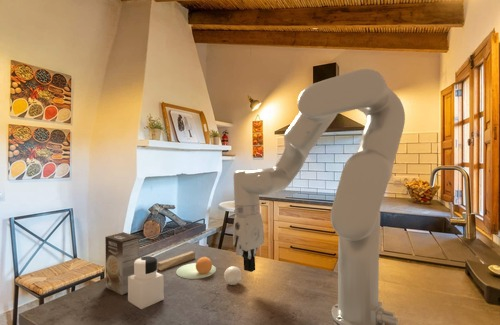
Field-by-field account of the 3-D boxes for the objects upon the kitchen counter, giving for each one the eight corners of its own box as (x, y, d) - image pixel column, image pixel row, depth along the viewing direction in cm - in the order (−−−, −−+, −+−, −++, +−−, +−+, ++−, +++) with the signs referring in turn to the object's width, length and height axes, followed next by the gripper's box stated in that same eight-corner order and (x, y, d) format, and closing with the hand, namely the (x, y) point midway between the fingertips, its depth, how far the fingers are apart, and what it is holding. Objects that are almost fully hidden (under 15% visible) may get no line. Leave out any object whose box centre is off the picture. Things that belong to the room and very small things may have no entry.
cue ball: (234, 260, 94) (230, 274, 96) (222, 265, 90) (218, 280, 91) (247, 270, 91) (242, 284, 92) (235, 276, 87) (230, 291, 88)
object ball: (206, 252, 103) (203, 266, 104) (194, 256, 99) (191, 270, 100) (216, 260, 100) (213, 274, 101) (204, 264, 95) (201, 279, 96)
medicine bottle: (150, 292, 86) (150, 252, 86) (164, 299, 81) (163, 257, 81) (127, 301, 80) (127, 259, 80) (141, 310, 76) (140, 265, 76)
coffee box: (104, 287, 89) (103, 236, 89) (123, 280, 94) (123, 231, 94) (121, 295, 84) (121, 241, 84) (140, 287, 89) (140, 236, 89)
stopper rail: (195, 258, 115) (195, 251, 115) (160, 270, 102) (160, 263, 102) (191, 257, 116) (191, 250, 116) (157, 269, 103) (157, 262, 103)
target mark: (224, 269, 103) (224, 268, 103) (194, 282, 92) (194, 282, 92) (198, 260, 112) (198, 260, 112) (168, 271, 101) (168, 271, 101)
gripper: (240, 215, 79) (243, 281, 79) (271, 207, 91) (273, 265, 91) (221, 213, 84) (223, 275, 84) (252, 205, 95) (254, 260, 95)
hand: (249, 270), depth 87 cm, fingers closed
